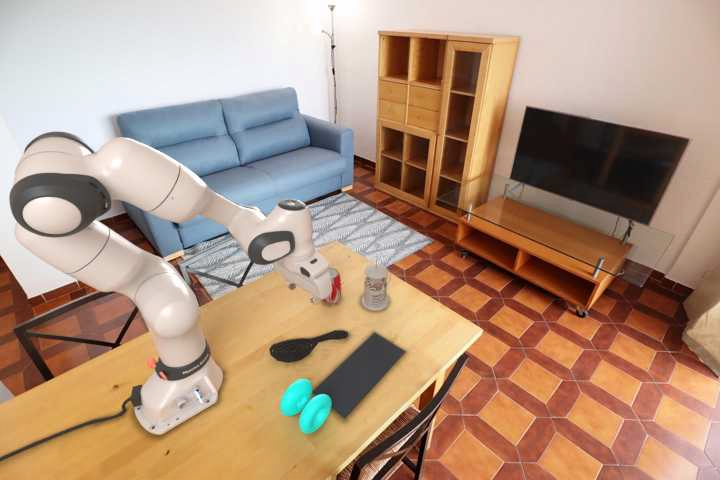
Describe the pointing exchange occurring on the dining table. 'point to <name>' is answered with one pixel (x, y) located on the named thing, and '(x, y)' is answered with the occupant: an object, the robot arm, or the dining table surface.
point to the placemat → (359, 373)
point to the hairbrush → (301, 346)
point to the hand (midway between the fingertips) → (303, 295)
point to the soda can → (334, 287)
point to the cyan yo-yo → (305, 405)
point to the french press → (375, 286)
